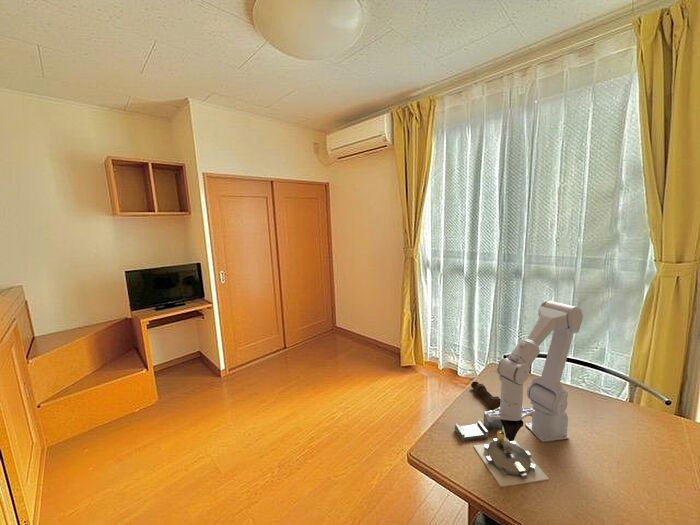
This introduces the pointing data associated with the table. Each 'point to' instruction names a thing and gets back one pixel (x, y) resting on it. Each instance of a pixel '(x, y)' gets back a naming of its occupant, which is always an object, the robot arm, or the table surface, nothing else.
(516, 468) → the sprocket
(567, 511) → the table surface
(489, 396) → the dark brown lumpy bar
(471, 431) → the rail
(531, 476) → the board
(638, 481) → the table surface
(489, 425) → the banded grey block
